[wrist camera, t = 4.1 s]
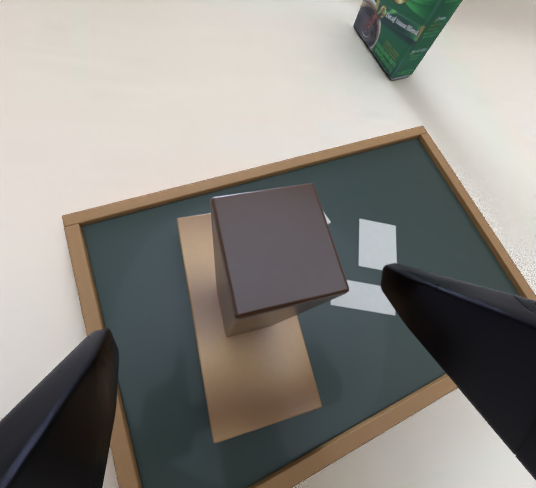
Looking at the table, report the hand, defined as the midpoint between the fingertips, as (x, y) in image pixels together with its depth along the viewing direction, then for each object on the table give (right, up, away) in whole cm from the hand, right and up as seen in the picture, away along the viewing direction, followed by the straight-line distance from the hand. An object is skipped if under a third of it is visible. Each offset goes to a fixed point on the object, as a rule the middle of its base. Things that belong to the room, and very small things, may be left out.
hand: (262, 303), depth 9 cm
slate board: (+4, 0, +10) cm, 11 cm away
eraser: (-1, -2, +8) cm, 8 cm away
